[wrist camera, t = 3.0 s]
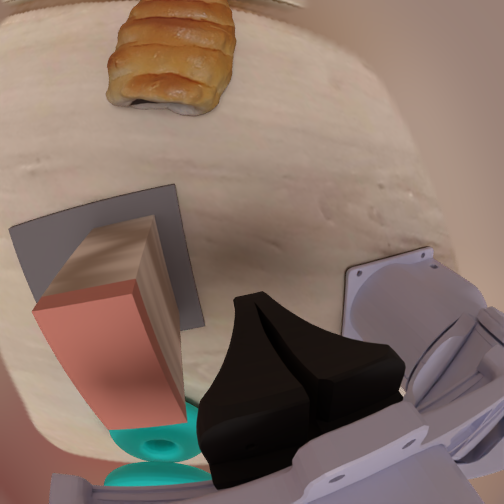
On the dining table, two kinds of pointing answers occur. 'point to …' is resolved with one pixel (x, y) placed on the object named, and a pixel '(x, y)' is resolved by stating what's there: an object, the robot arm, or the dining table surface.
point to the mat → (101, 214)
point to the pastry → (173, 56)
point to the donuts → (159, 454)
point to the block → (118, 326)
